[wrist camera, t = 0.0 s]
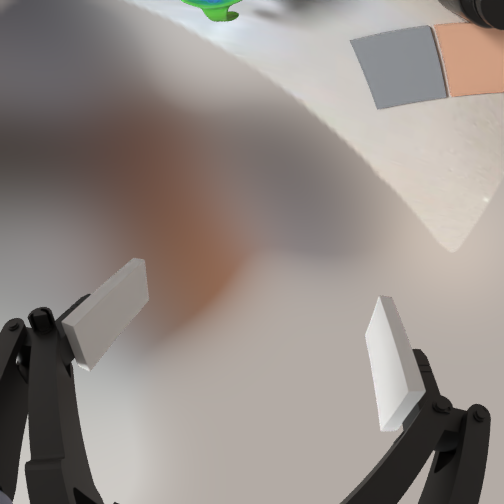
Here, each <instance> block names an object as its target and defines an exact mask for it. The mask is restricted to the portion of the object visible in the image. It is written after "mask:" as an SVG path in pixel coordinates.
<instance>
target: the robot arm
mask: <svg viewBox="0 0 504 504" xmlns="http://www.w3.org/2000/svg"><path fill="white" fill-rule="evenodd" d="M148 300H149V295H148V287H147V278H146V268H145V260H143V259H137V258H133V259H132V260H131V261H129V262H128V263H127V264H126V265H125V266H124V267H122V268H121V269H120V270H119V271H118V272H116V273H115V274H114V275H113V276H112V277H111V278H109V279H108V280H107V281H106V282H105V283H104V284H102V285H101V286H100V287H99V288H98V289H97V290H96V291H95V292H93V293H92V294H87V295H85V296H84V297H81V298H80V299H79V300H78V301H77V302H76V303H75V304H73V305H72V306H71V307H70V309H68V310H67V311H65V313H63V314H62V315H61V316H60V317H59V318H58V319H57V320H56V321H55V320H54V317H53V314H52V311H51V310H50V309H49V308H47V307H40V308H37V309H35V310H33V311H32V312H31V313H30V314H29V316H28V320H29V322H30V325H31V327H32V328H28V327H26V326H25V324H24V321H23V320H22V319H20V318H14V319H11V320H9V321H8V322H7V323H6V324H5V325H4V327H3V329H2V331H1V332H0V504H13V503H12V502H13V499H14V495H15V491H16V484H17V476H18V467H19V459H20V452H21V446H22V440H23V434H24V429H25V424H26V419H27V415H28V416H29V417H28V419H29V439H30V451H31V460H30V461H28V462H26V464H25V475H26V482H27V489H28V494H29V500H30V504H104V503H103V500H102V498H101V496H100V494H99V493H98V491H97V489H96V487H95V485H94V482H93V479H92V475H91V472H90V468H89V464H88V460H87V456H86V451H85V447H84V442H83V438H82V432H81V427H80V421H79V415H78V408H77V401H76V394H75V384H74V374H73V366H72V363H71V361H72V360H73V359H74V358H75V359H76V362H77V364H78V366H79V367H81V368H83V369H86V370H88V371H91V370H92V369H93V367H94V366H95V365H96V363H97V362H98V361H99V360H100V358H101V357H102V356H103V355H104V353H105V352H106V351H107V350H108V348H109V347H110V346H111V345H112V344H113V342H114V341H115V340H116V339H117V337H118V336H119V335H120V334H121V332H122V331H123V330H124V329H125V328H126V327H127V325H128V324H129V323H130V322H131V320H132V319H133V318H134V317H135V316H136V315H137V313H138V312H139V311H140V310H141V309H142V307H143V306H144V305H145V304H146V303H147V302H148ZM365 338H366V343H367V347H368V353H369V358H370V363H371V369H372V375H373V380H374V386H375V393H376V400H377V407H378V414H379V421H380V430H381V431H397V429H398V428H399V427H400V426H401V424H403V430H404V431H403V432H402V433H401V435H400V436H399V437H398V438H397V439H396V440H395V442H394V444H393V445H392V446H391V448H390V449H389V450H388V452H387V453H386V454H385V455H384V457H383V458H382V459H381V460H380V461H379V463H378V464H377V465H376V466H375V467H374V468H373V470H372V471H371V472H370V473H369V474H368V475H367V476H366V478H364V480H363V481H362V482H361V483H360V484H359V485H358V486H357V487H356V488H355V489H354V490H353V491H352V492H351V493H350V494H349V495H348V496H347V497H346V498H345V499H344V500H343V501H342V502H341V503H340V504H397V503H398V502H399V500H400V499H401V498H402V496H403V495H404V493H405V492H406V491H407V490H408V488H409V487H410V485H411V484H412V483H413V481H414V479H415V478H416V477H417V475H418V473H419V472H420V471H421V469H422V467H423V466H424V464H425V463H426V461H427V459H428V458H429V456H430V455H431V453H432V451H433V450H434V451H435V455H434V458H433V462H432V465H431V468H430V471H429V474H428V477H427V480H426V483H425V486H424V489H423V492H422V494H421V497H420V499H419V502H418V504H478V502H479V498H480V494H481V490H482V484H483V479H484V474H485V468H486V461H487V455H488V446H489V436H490V422H491V418H490V413H489V411H488V410H487V409H486V408H485V407H484V406H482V405H480V404H474V405H472V406H471V407H470V408H469V409H468V410H467V411H464V410H461V409H456V408H453V406H452V404H451V402H450V401H449V400H448V399H447V398H446V397H444V396H441V395H440V392H439V389H438V386H437V383H436V381H435V378H434V375H433V373H432V369H431V367H430V364H429V361H428V359H427V357H426V355H425V354H424V353H423V352H422V351H421V350H420V349H412V348H411V345H410V342H409V339H408V337H407V334H406V332H405V329H404V326H403V324H402V321H401V318H400V316H399V313H398V311H397V308H396V306H395V304H394V301H393V299H392V297H387V296H379V297H378V300H377V304H376V306H375V309H374V312H373V315H372V318H371V321H370V323H369V326H368V329H367V332H366V334H365ZM16 358H17V359H18V361H17V363H16ZM114 504H118V503H116V502H114Z"/></svg>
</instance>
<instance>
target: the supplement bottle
mask: <svg viewBox="0 0 504 504" xmlns="http://www.w3.org/2000/svg"><path fill="white" fill-rule="evenodd" d="M438 1H439V2H440V3H441V4H442V5H443V6H444V7H445V8H447V9H448V10H450V11H452V12H453V13H455V14H457V15H459V16H461V17H463V18H464V19H466V20H468V21H470V22H471V23H473V24H475V25H477V26H479V27H481V28H485V29H493V28H496V29H498V30H504V0H438Z"/></svg>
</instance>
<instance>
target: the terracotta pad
mask: <svg viewBox="0 0 504 504" xmlns="http://www.w3.org/2000/svg"><path fill="white" fill-rule="evenodd" d="M434 27H435V30H436V33H437V37H438V40H439V44H440V48H441V52H442V56H443V60H444V64H445V69H446V74H447V79H448V84H449V90H450V95H451V96H452V97H454V96H462V95H472V94H483V93H498V92H504V30H498V29H496V28H493V29H485V28H481V27H479V26H477V25H475V24H473V23H471V22H465V23H449V24H437V25H434Z"/></svg>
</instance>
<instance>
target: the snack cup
mask: <svg viewBox="0 0 504 504" xmlns="http://www.w3.org/2000/svg"><path fill="white" fill-rule="evenodd" d="M181 1H183V2H184V3H187V4H189V5H192V6H195V7H199V8H201V9H202V10H203V12H204V13H205V15H206V16H207V17H208V18H209V19H210V20H212V21H217V22H219V21H232V20H234V19H236V18H237V17H238V16H239V14H238V13H237V12H233V11H231V12H228V8H229V7H230V6H231V5H233V4H235V3H238V2H240V1H242V0H181Z"/></svg>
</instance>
